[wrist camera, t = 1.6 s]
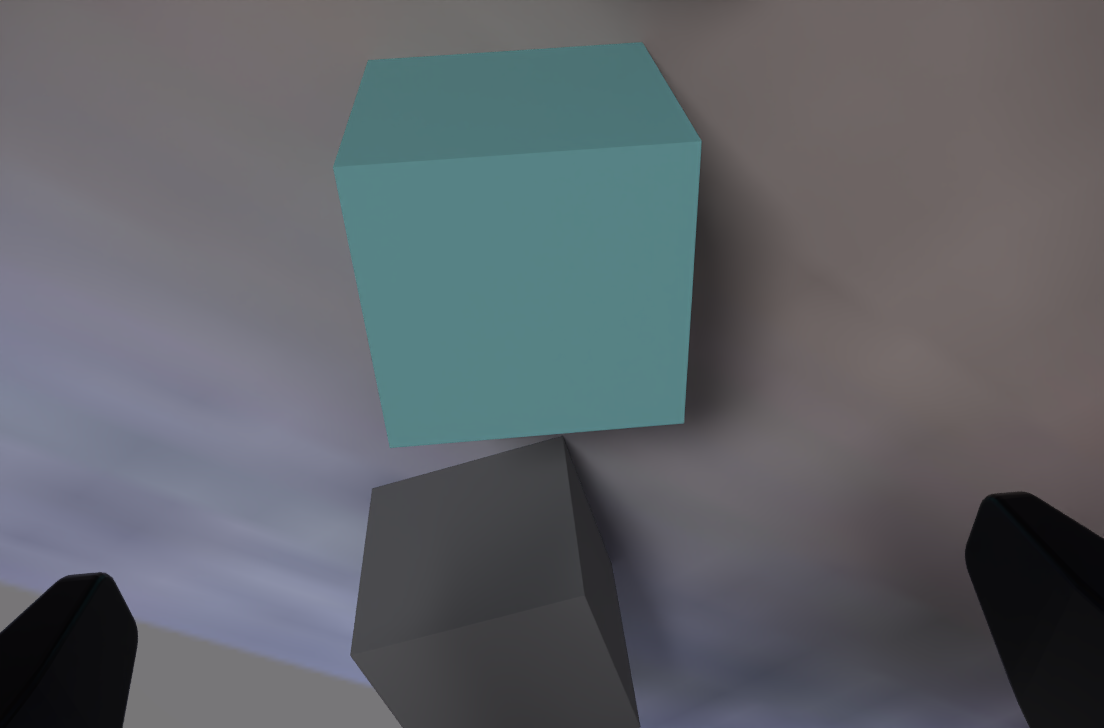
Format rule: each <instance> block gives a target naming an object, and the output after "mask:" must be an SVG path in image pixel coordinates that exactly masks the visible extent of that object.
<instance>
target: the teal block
mask: <svg viewBox="0 0 1104 728" xmlns="http://www.w3.org/2000/svg"><path fill="white" fill-rule="evenodd" d="M701 143H702V141H701V139H700V138H699V136H698V134H697V133H696V131H695V129H694V128H693V126H692V124H691V123H690V121H689V119H688V118H687V116H686V114H685V113H684V111H683V109H682V108H681V106H680V104H679V103H678V101H677V99H676V98H675V96H674V94H673V93H672V91H671V89H670V88H669V86H668V84H667V83H666V81H665V79H664V78H663V76H662V74H661V73H660V71H659V69H658V68H657V66H656V64H655V63H654V61H653V59H652V58H651V56H650V54H649V53H648V51H647V49H646V48H645V46H644V44H643V43H642V42H639V43H624V44H609V45H594V46H578V47H563V48H548V49H533V50H517V51H502V52H487V53H472V54H456V55H441V56H426V57H411V58H395V59H380V60H368V62H367V65H366V68H365V71H364V74H363V78H362V81H361V84H360V87H359V90H358V93H357V96H356V99H355V102H354V105H353V108H352V111H351V114H350V117H349V120H348V123H347V126H346V129H345V132H344V136H343V139H342V142H341V145H340V148H339V151H338V154H337V157H336V160H335V163H334V166H333V169H334V174H335V179H336V184H337V189H338V194H339V198H340V203H341V208H342V213H343V218H344V223H345V228H346V233H347V238H348V243H349V248H350V253H351V258H352V263H353V268H354V273H355V278H356V283H357V287H358V292H359V297H360V302H361V307H362V312H363V317H364V322H365V327H366V332H367V337H368V342H369V347H370V352H371V357H372V362H373V367H374V372H375V377H376V381H377V386H378V391H379V396H380V401H381V406H382V411H383V416H384V421H385V426H386V431H387V436H388V441H389V446H390V448H395V447H407V446H419V445H431V444H442V443H454V442H466V441H478V440H490V439H502V438H514V437H526V436H538V435H550V434H562V433H574V432H586V431H598V430H610V429H622V428H634V427H646V426H658V425H670V424H682V423H684V414H685V398H686V382H687V366H688V350H689V334H690V318H691V303H692V287H693V271H694V255H695V239H696V223H697V207H698V191H699V175H700V159H701Z"/></svg>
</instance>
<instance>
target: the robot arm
mask: <svg viewBox="0 0 1104 728" xmlns="http://www.w3.org/2000/svg"><path fill="white" fill-rule="evenodd" d="M965 561H966V566H967V570H968V573H969V576H970V578H971V581H972V584H973V586H974V589H975V592H976V594H977V597H978V599H979V602H980V605H981V607H982V610H983V613H984V615H985V618H986V621H987V623H988V626H989V629H990V631H991V634H992V637H993V639H994V642H995V645H996V647H997V650H998V653H999V655H1000V658H1001V661H1002V663H1003V666H1004V669H1005V671H1006V674H1007V677H1008V679H1009V682H1010V684H1011V687H1012V689H1013V692H1014V694H1015V697H1016V699H1017V701H1018V704H1019V706H1020V708H1021V710H1022V712H1023V714H1024V717H1025V719H1026V721H1027V723H1028V725H1029V727H1030V728H1104V539H1103V538H1102V537H1100V536H1099V535H1097V534H1095V533H1094V532H1092V531H1091V530H1089V529H1087V528H1086V527H1084V526H1083V525H1081V524H1079V523H1078V522H1076V521H1075V520H1073V519H1071V518H1070V517H1068V516H1067V515H1065V514H1063V513H1062V512H1060V511H1059V510H1057V509H1055V508H1054V507H1052V506H1051V505H1049V504H1047V503H1046V502H1044V501H1043V500H1041V499H1039V498H1038V497H1036V496H1034V495H1032V494H1030V493H1027V492H1009V493H997V494H991V495H988V496H987V497H986V498H985V499H984V500H982V502H981V504H980V507H979V510H978V513H977V516H976V519H975V521H974V524H973V527H972V530H971V533H970V536H969V538H968V541H967V544H966V549H965ZM137 643H138V631H137V626H136V622H135V620H134V618H133V616H132V614H131V612H130V610H129V608H128V606H127V604H126V602H125V600H124V598H123V596H122V595H121V593H120V591H119V589H118V587H117V585H116V583H115V581H114V580H113V578H112V577H111V576H109V575H108V574H106V573H102V572H98V573H86V574H75V575H68V576H65V577H63V578H61V579H60V580H58V581H57V582H56V583H54V584H53V585H52V586H51V587H50V588H49V589H48V590H47V591H46V592H45V593H43V594H42V595H41V596H40V597H39V598H38V599H37V600H36V601H35V602H34V603H32V604H31V605H30V606H29V607H28V608H27V609H26V610H25V611H24V612H23V613H22V614H20V615H19V616H18V617H17V618H16V619H15V620H14V621H13V622H12V623H10V624H9V625H8V626H7V627H6V628H5V629H4V630H3V631H2V632H0V728H123V722H124V717H125V711H126V706H127V700H128V695H129V689H130V684H131V678H132V673H133V667H134V662H135V657H136V651H137Z"/></svg>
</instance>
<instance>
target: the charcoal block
mask: <svg viewBox="0 0 1104 728" xmlns="http://www.w3.org/2000/svg"><path fill="white" fill-rule="evenodd" d="M350 656H351V657H352V659H353V660H354V661H355V663H356V664H357V666H358V667H359V668H360V670H361V671H362V672H363V674H364V675H365V676H366V678H367V679H368V681H369V682H370V683H371V685H372V686H373V687H374V689H375V690H376V692H377V693H378V694H379V696H380V697H381V698H382V700H383V701H384V703H385V704H386V705H387V706H388V708H389V709H390V711H391V712H392V714H393V715H394V716H395V718H396V719H397V720H398V722H399V723H400V725H401V726H402V727H403V728H640V722H639V717H638V711H637V705H636V700H635V694H634V688H633V683H632V677H631V671H630V666H629V660H628V654H627V649H626V643H625V637H624V632H623V626H622V620H621V615H620V609H619V603H618V598H617V592H616V586H615V581H614V575H613V569H612V564H611V562H610V559H609V556H608V554H607V551H606V548H605V546H604V543H603V541H602V538H601V535H600V533H599V530H598V527H597V525H596V522H595V520H594V517H593V514H592V512H591V509H590V506H589V504H588V501H587V499H586V496H585V493H584V491H583V488H582V486H581V483H580V480H579V478H578V475H577V472H576V470H575V467H574V465H573V462H572V459H571V457H570V454H569V451H568V449H567V446H566V444H565V441H564V438H563V436H560V437H557V438H553V439H549V440H546V441H542V442H539V443H535V444H531V445H528V446H524V447H521V448H517V449H513V450H510V451H506V452H502V453H499V454H495V455H492V456H488V457H484V458H481V459H477V460H474V461H470V462H466V463H463V464H459V465H456V466H452V467H448V468H445V469H441V470H438V471H434V472H430V473H427V474H423V475H419V476H416V477H412V478H409V479H405V480H401V481H398V482H394V483H391V484H387V485H383V486H380V487H376V488H373V489H372V494H371V502H370V510H369V517H368V525H367V532H366V540H365V548H364V555H363V563H362V570H361V578H360V586H359V593H358V601H357V608H356V616H355V623H354V631H353V639H352V646H351V654H350Z"/></svg>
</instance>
